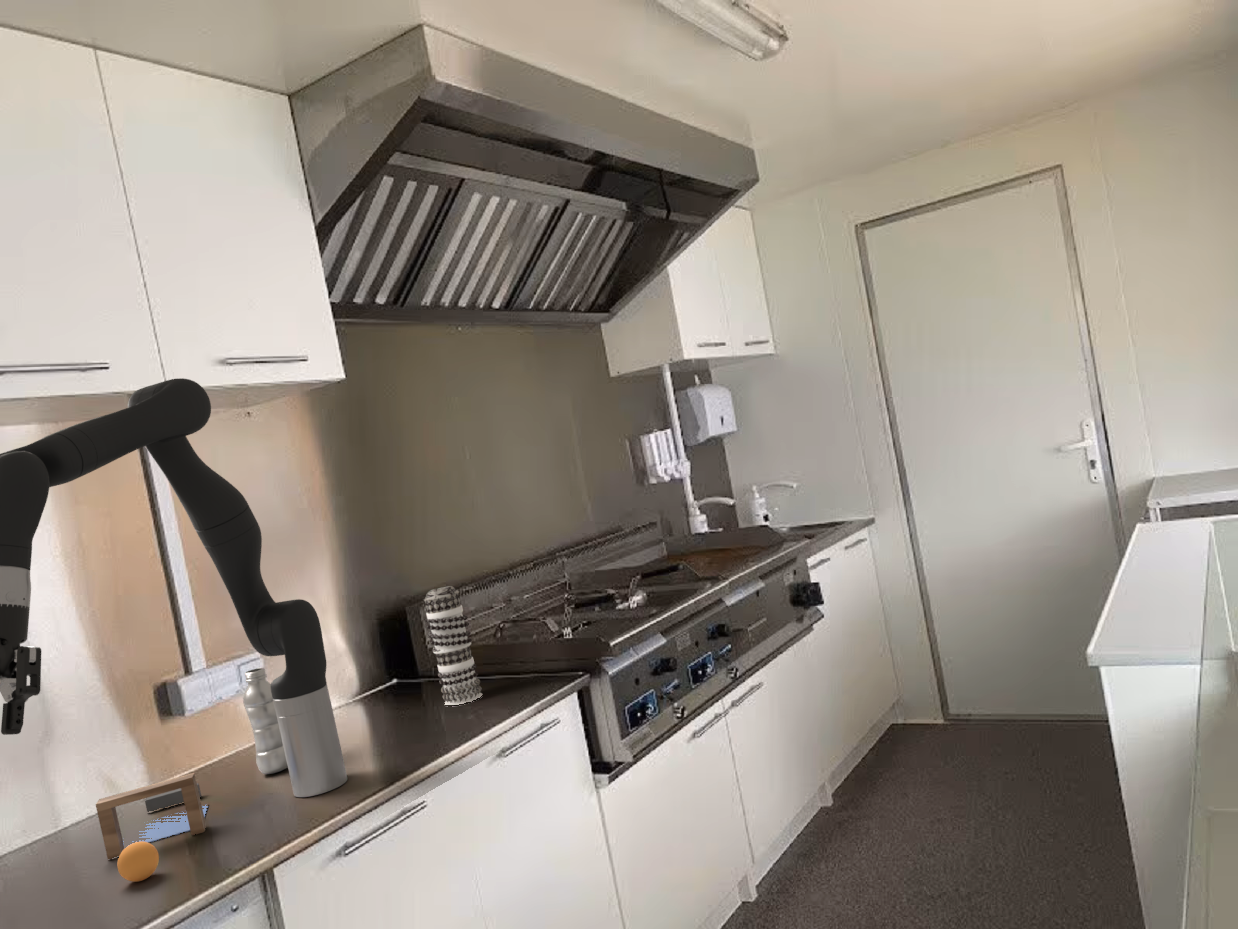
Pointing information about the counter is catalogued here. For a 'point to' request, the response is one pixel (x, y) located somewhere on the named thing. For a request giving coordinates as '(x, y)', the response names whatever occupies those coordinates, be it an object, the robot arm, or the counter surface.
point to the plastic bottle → (264, 723)
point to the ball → (138, 861)
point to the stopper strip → (165, 799)
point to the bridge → (108, 804)
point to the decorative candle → (451, 646)
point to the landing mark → (167, 827)
